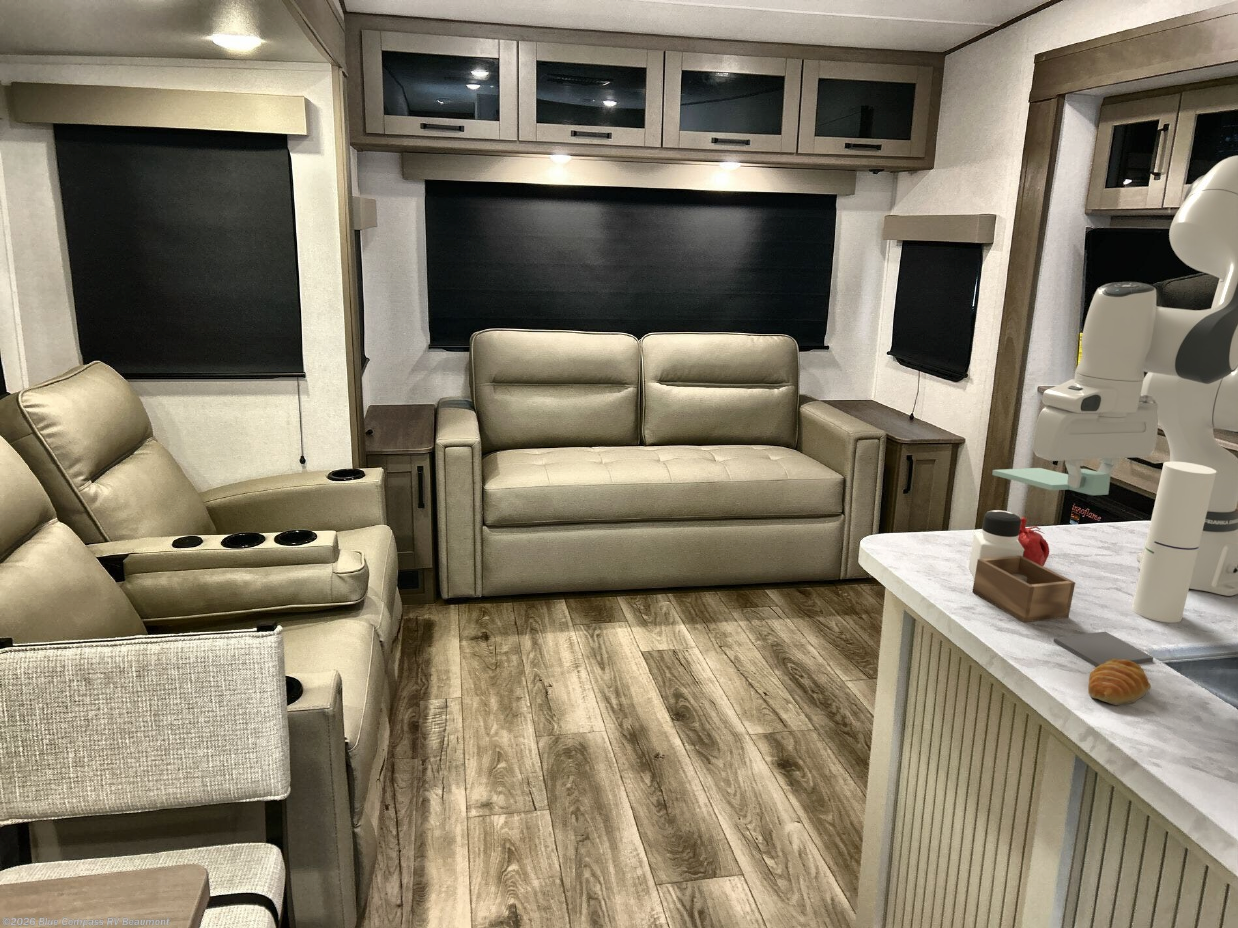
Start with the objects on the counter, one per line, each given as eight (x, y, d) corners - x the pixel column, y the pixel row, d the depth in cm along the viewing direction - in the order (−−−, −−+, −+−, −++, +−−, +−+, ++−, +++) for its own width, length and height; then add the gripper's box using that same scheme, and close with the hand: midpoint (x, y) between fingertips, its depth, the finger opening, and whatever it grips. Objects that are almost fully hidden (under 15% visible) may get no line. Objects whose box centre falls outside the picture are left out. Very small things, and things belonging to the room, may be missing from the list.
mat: (1104, 634, 138) (1105, 631, 138) (1152, 660, 130) (1153, 657, 130) (1053, 641, 134) (1054, 637, 134) (1099, 668, 127) (1100, 664, 126)
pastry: (1128, 716, 115) (1134, 689, 114) (1073, 695, 119) (1078, 669, 118) (1151, 692, 121) (1156, 667, 120) (1098, 674, 126) (1103, 649, 125)
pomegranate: (997, 574, 161) (1004, 525, 159) (982, 554, 171) (988, 508, 168) (1054, 578, 160) (1062, 529, 158) (1036, 557, 170) (1043, 511, 167)
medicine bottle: (1018, 587, 155) (1030, 522, 152) (975, 582, 156) (986, 517, 153) (1009, 572, 162) (1020, 509, 159) (967, 567, 163) (978, 505, 160)
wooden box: (1014, 587, 155) (1020, 555, 153) (1068, 616, 144) (1075, 582, 142) (972, 592, 152) (977, 559, 150) (1023, 622, 141) (1030, 586, 139)
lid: (1039, 472, 149) (1041, 454, 148) (1125, 493, 133) (1127, 473, 132) (992, 474, 146) (994, 456, 145) (1074, 496, 130) (1077, 476, 129)
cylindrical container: (1164, 625, 142) (1199, 475, 136) (1122, 607, 148) (1153, 463, 142) (1191, 618, 146) (1226, 471, 139) (1148, 601, 152) (1180, 460, 145)
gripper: (1141, 390, 136) (1123, 477, 140) (1033, 392, 130) (1017, 483, 133) (1177, 399, 130) (1157, 489, 134) (1067, 400, 124) (1049, 495, 128)
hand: (1087, 486), depth 134 cm, fingers closed on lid, 3 cm apart
